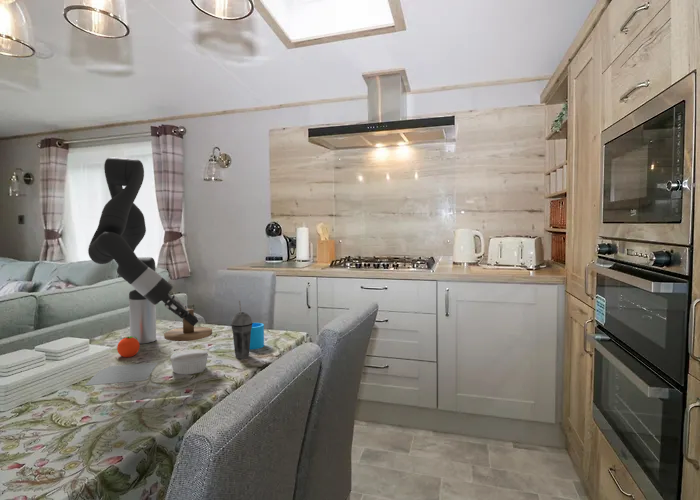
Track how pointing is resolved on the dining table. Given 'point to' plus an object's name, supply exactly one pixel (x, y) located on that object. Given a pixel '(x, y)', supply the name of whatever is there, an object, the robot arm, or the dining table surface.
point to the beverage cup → (241, 333)
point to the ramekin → (189, 361)
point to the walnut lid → (188, 331)
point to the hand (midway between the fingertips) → (195, 321)
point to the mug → (257, 336)
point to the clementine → (128, 347)
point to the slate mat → (122, 374)
